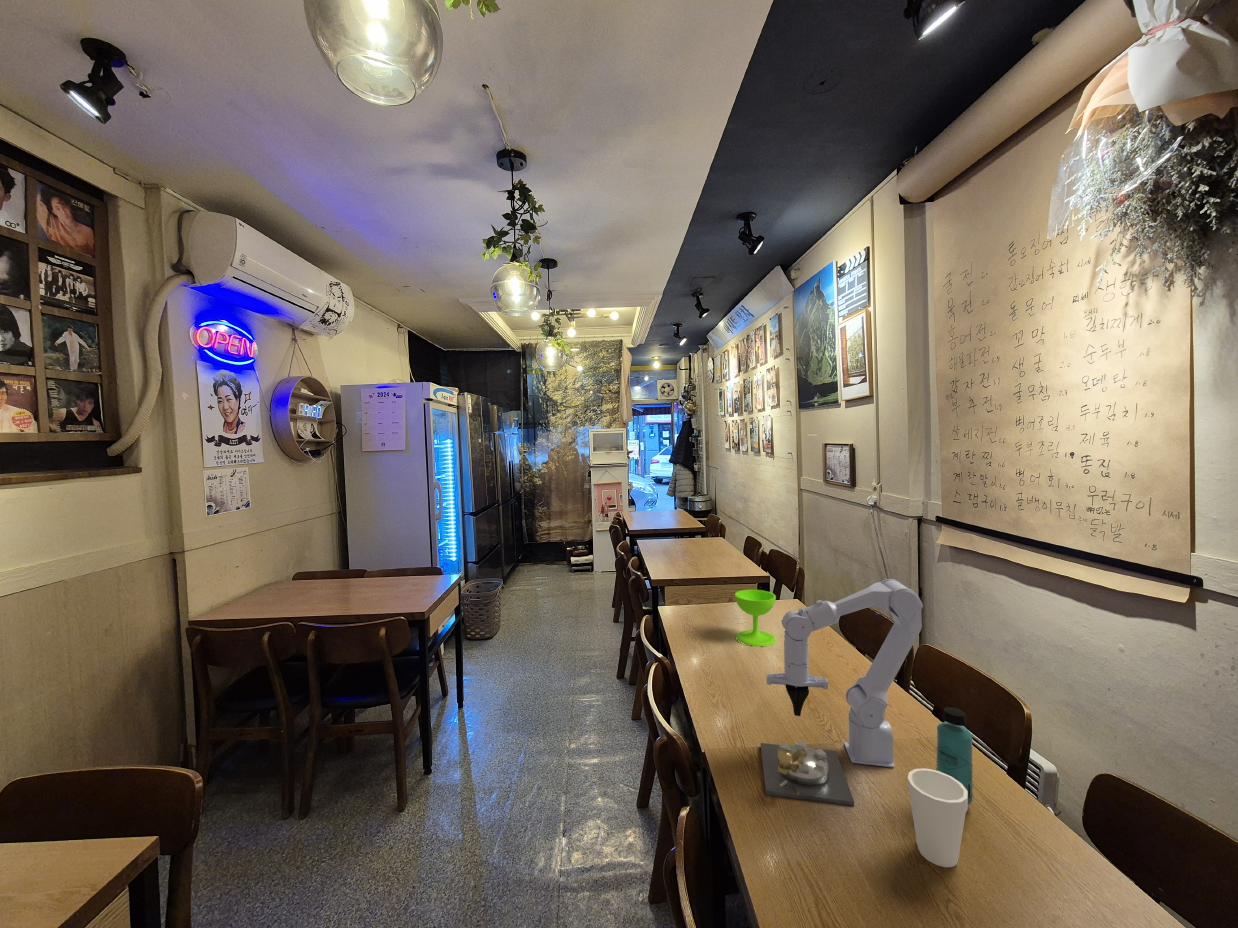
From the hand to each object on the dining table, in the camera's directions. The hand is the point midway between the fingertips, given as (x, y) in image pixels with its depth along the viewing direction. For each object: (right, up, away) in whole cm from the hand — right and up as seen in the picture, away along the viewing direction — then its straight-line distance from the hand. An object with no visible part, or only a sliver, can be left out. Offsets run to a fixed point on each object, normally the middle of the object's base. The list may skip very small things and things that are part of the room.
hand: (797, 713), depth 122 cm
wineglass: (+10, -8, +74) cm, 75 cm away
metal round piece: (-3, -9, -10) cm, 14 cm away
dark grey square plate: (-2, -10, -9) cm, 13 cm away
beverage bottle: (+27, -9, -19) cm, 34 cm away
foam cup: (+15, -10, -32) cm, 36 cm away
